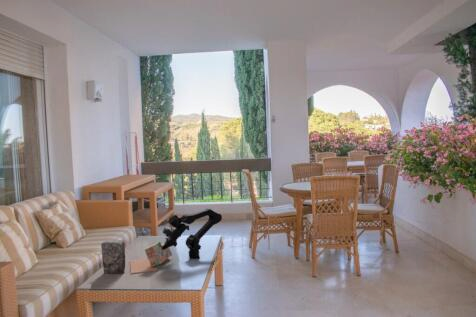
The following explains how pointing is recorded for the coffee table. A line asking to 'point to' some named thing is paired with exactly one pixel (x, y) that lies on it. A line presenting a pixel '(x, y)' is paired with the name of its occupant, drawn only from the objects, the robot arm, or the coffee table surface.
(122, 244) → the stone block
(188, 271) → the coffee table surface
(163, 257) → the stack of blocks
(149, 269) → the mat
